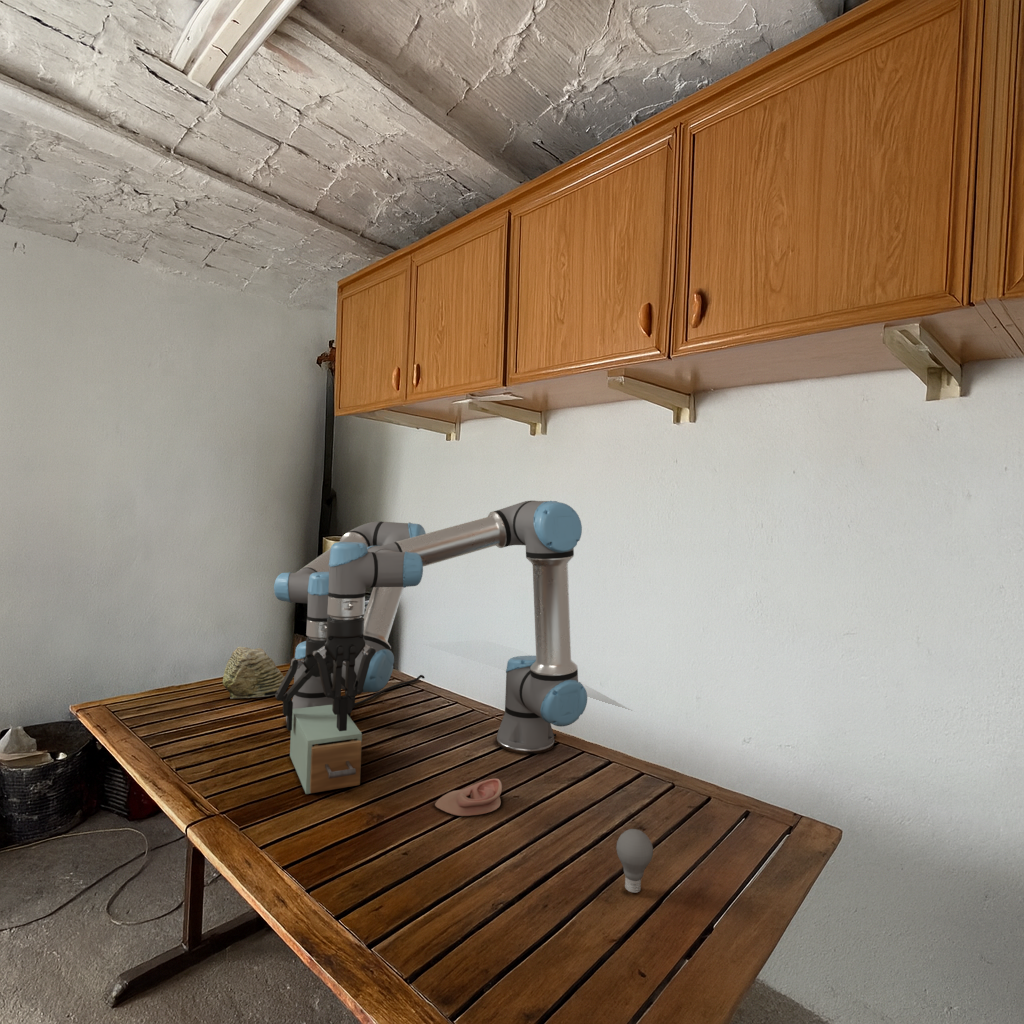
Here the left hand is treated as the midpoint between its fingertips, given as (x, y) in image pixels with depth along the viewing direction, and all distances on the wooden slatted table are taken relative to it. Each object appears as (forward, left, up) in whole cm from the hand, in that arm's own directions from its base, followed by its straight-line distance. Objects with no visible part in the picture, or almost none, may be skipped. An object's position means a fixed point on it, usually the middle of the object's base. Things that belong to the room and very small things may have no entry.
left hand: (318, 725), depth 152 cm
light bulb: (-6, +81, -8) cm, 82 cm away
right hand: (+9, +20, +7) cm, 23 cm away
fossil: (-15, -55, -8) cm, 58 cm away
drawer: (+5, +11, -7) cm, 14 cm away
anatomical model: (-9, +41, -8) cm, 43 cm away
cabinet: (+2, +6, -8) cm, 10 cm away
